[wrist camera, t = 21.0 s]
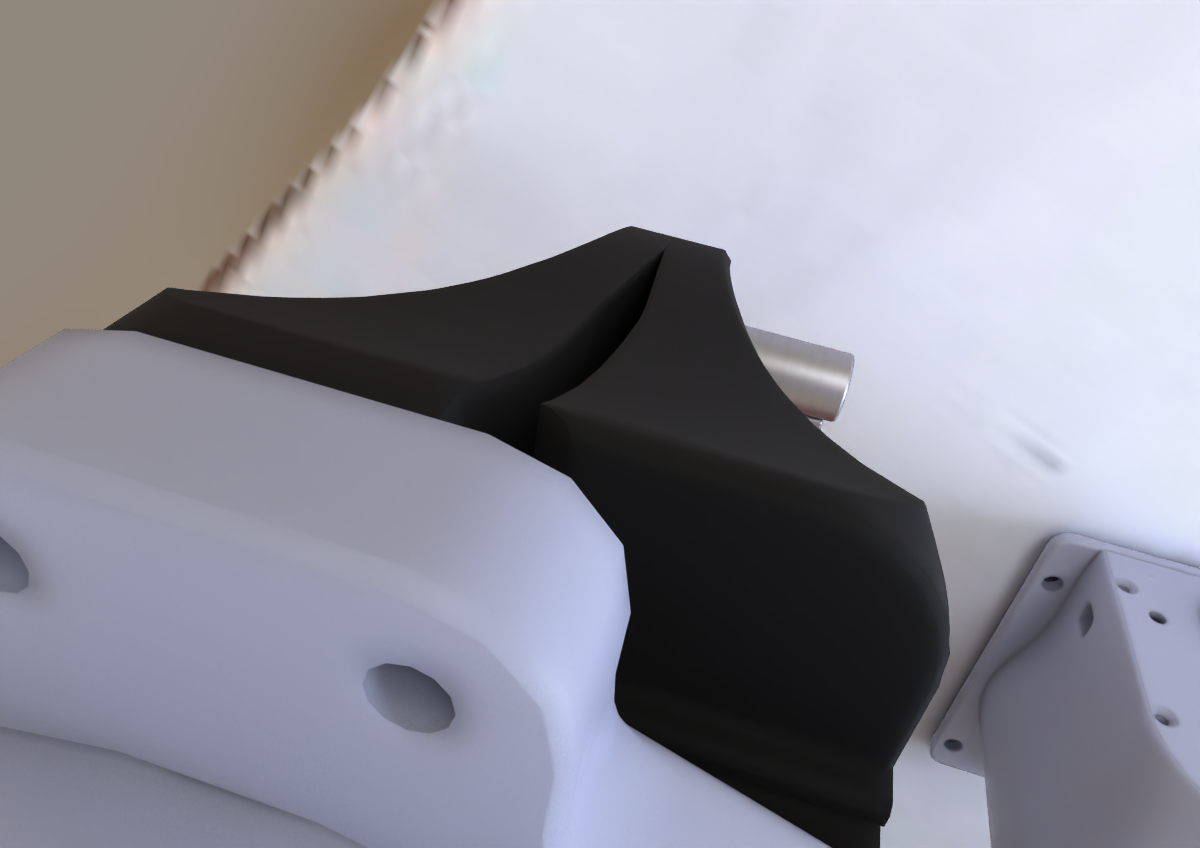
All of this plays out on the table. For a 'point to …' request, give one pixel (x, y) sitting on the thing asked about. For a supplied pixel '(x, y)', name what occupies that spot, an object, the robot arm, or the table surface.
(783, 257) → the table surface
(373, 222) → the table surface
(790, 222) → the table surface
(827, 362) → the drawer
